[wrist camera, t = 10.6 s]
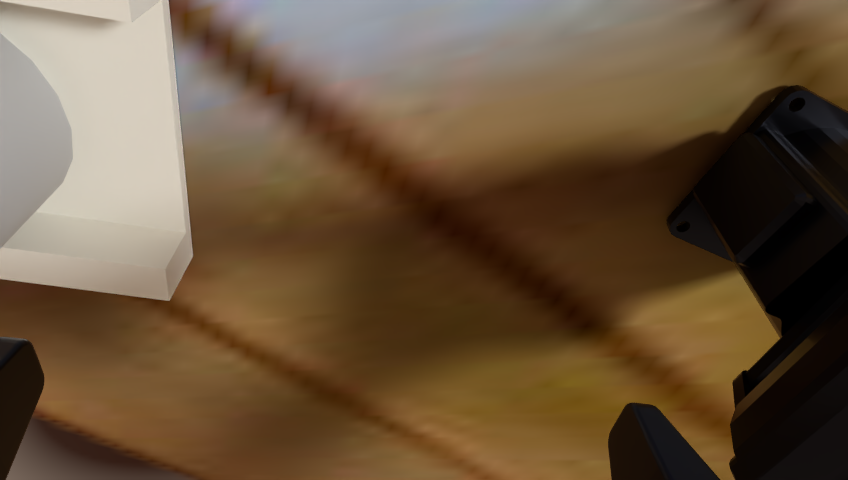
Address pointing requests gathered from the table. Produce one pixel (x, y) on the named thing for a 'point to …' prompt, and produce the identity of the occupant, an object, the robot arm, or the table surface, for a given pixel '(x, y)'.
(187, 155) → the table surface
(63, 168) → the can
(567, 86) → the table surface
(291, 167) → the table surface
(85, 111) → the divider tray
